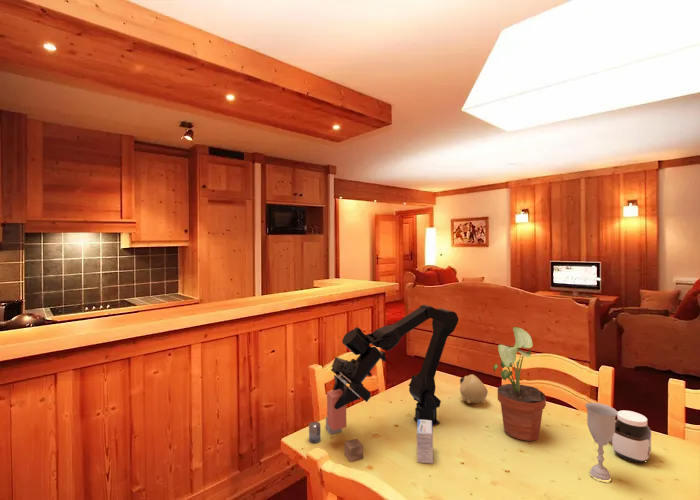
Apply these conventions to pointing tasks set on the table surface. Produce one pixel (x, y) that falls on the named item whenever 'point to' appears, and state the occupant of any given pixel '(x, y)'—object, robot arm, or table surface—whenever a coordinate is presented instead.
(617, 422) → the spread jar
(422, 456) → the medicine box
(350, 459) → the walnut block
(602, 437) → the chalice
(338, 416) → the dusty red block
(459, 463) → the table surface
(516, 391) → the potted plant
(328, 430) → the slate grey block
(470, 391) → the toy pig
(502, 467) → the table surface
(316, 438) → the grey metal cylinder
